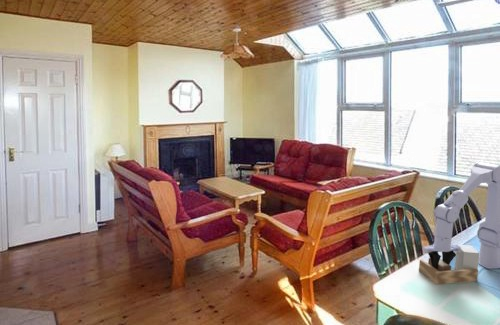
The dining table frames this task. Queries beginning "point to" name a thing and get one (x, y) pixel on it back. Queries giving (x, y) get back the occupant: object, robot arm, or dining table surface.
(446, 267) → the brown rectangular block
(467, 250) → the small box
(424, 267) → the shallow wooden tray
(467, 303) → the dining table surface
